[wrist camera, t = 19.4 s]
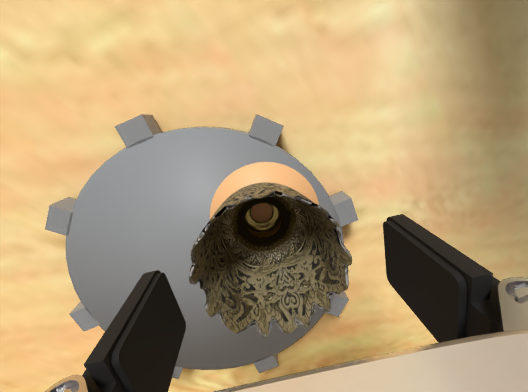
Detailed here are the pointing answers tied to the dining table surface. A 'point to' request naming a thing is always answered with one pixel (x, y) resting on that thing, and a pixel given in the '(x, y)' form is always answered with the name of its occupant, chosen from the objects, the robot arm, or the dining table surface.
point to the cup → (269, 260)
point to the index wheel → (179, 228)
